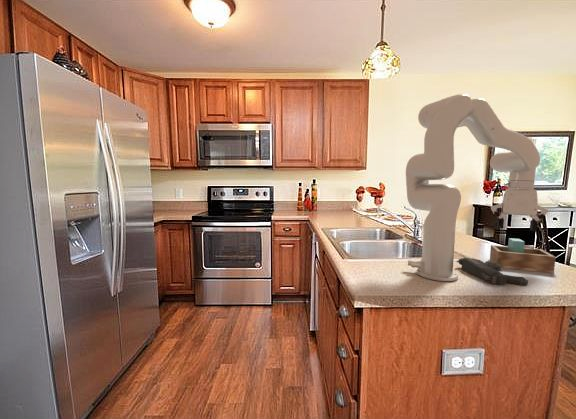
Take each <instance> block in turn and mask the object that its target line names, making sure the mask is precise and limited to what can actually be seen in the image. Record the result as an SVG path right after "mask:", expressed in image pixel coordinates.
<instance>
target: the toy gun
mask: <svg viewBox="0 0 576 419" xmlns="http://www.w3.org/2000/svg"><path fill="white" fill-rule="evenodd" d="M456 263H459V266H461V270H462V271H465V272H467V273H469V274H471V275H473V276H475V277H477V278H479V279H480V280H482V281H484V282H486V283H488V284H491V285H496V286H505V285H506V283H508V284H512V285H513V284H514V285H518V286H527V285H528V284H529V280H528V279H527V278H526V277H523V276H514V275H507V274H504V273H502V272H501V268H502V267H501V265H500V264H498V263H493V262H492V261H489V260H488V261H487V260H486V261H485V262H484V261H483V260H480V259H476V258H473V257H460V258H459V259H458V260H456Z"/></svg>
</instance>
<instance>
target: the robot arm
mask: <svg viewBox="0 0 576 419" xmlns="http://www.w3.org/2000/svg"><path fill="white" fill-rule="evenodd" d="M417 115H418V116H417V119H418V122H419V124H420V125H421V126H422V127H423V128H424V129H426V131H425V134H424V139H423V146H424V147H423V149H424V151H423V153H418V154H415V155H413V156H411V158H409V159H408V161H407V163H406V167H405V183H406V198H407V201H408V204H409V205H410V206H409V207H411V208H412V209H414V210H418V211H425V212H428V213H427V216H426V218H425V219H424V222H423V228H422V229H423V232H422V234H423V235H422V250H421V251H422V252H421V258H420V260H416V261H415V260H409V259H408V260H407V266H410V267H411V268H416V274H417V275H419V276H420V277H423V278H425V279H427V280H431V281H438V282H452V281H453V282H454V281H457V280H458V279H459V274H458V273H456V272H455V271H454V259H455V258H454V256H455V255H454V254H455V244H456V243H455V242H456V240H455V239H456V228H457V217H458V212H459V208H460V204H461V201H462V195H461V191H460V190H459V189H458V187H456V186H454V185H452V184H447V183H429V182H430V181H442V180H446V179H449V178H451V177H452V176H453V174H454V172H455V152H454V151H455V150H454V149H455V148H454V147H455V146H454V145H455V144H454V143H455V141H454V140H455V133H456V131H457V129H458V128H462V127H466V128H467V129H468V130H469V131H470V133H471V134H472V136H473V137H474V138H475V140H476V141H477V143H478V144H481V145H483V146H487V147H492V148H499V149H503V150H506V151H502V152H498V153H495V154H493V155H492V157H491V158H490V160H489V165H490V167H491V169H492V170H494V171H496V172H499V173H502V172H503V173H507V172H508V173H509V178H508V181H507V182H505V181H504V182H503V186H505V187H507V188H506V189H505V191H504V194H503V196H502V197H503V198H502V202H501V203H499V204H498V203H497V204H495V205H492V206H491V207H490V209H491V211H492V213H493V215H494V216H495V217H497V227H498V228H499V229H500V230H501V229H504V223H505V218H504V217H506V216H507V215H513V216H529V217H530V219H531V220H530V223H529V231H530V232H535V231H536V230H537V228H538V222H539V221H540V220H541V219H543V218H544V217H545V216H546V215H547V214H548V213H549V209H547V208H545V207H543V206H541V205H538V191H537V190H538V189H535V180H536V179H535V178H536V172H537V171H536V170H537V168H538V167H539V164H540V162H541V155H540V152H539V150H538V148H537V147H536V145H535V144H534V142H533V141H532V140H531V138H529V137H528V136H526V135H524V134H522V133H521V132H520V133H519V132H518V131H515V130H513V129H510V128H507V127H506V126H504V125H503V123H502V121H501V120H500V119H499V117H498V116H497V114H496V113H495V111H494V110H493V109H492V107H491V105H490V104H489V103H488V102H487V100H485V99H484V98H479V97H476V98H471V96H470V95H468V94H465V93H459V94H454V95H451V96H447V97H445V98H442V99H439V100H437V101H434V102H431V103H428V104H426V105H423V107H422V108H421V109H420V111H419V113H418V114H417ZM507 150H508V151H507ZM499 208H500V210H501V212H500V213H499V212H498V211H497V209H499ZM538 211H540V213H539V214H538Z"/></svg>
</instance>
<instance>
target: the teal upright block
mask: <svg viewBox="0 0 576 419" xmlns="http://www.w3.org/2000/svg"><path fill="white" fill-rule="evenodd" d="M507 243H508V244H507V247H508V252H515V253H524V248H525V244H526V242H525V241H524V240H522V239H520V238H515V237H513V238H512V237H511V238H510V237H509V238H508V242H507Z"/></svg>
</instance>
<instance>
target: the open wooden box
mask: <svg viewBox="0 0 576 419" xmlns="http://www.w3.org/2000/svg"><path fill="white" fill-rule="evenodd" d="M489 260H490V262H493V263H498V264H500V265H501V268H502V269H503V268H504V269H514V270H522V271H529V272H530V271H531V272H540V273H548V274H549V273H550V274H555V267H556V266H555V265H556V256H554V254H551V253H550V252H547V251H545V250H544V249H541V248H531V247H530V248H529V247H524V253H515V252H508V245H507V246H504V245H493V244H491V245H490V253H489Z"/></svg>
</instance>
